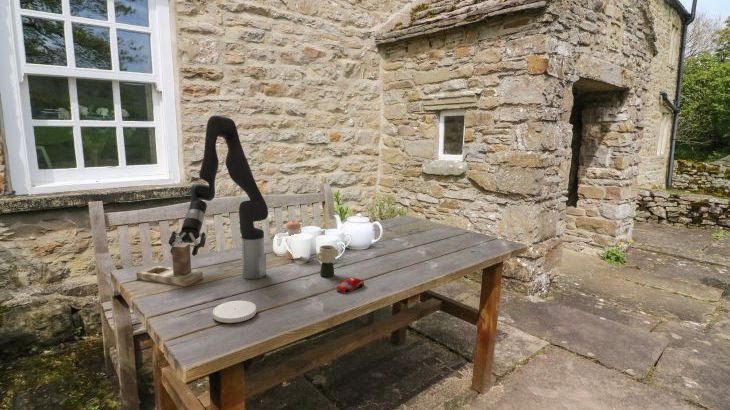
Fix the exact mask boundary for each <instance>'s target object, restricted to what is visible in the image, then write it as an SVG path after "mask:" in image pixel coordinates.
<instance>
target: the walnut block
mask: <svg viewBox="0 0 730 410" xmlns="http://www.w3.org/2000/svg"><path fill="white" fill-rule="evenodd" d="M171 248H172V254H171V256H172V268H173V275H180V276H186V275H187V274H189V273H190V272H191V270H192V263H191V262H192V261H191V243H182V244H179V243H178V244H176V245H174V246H171Z"/></svg>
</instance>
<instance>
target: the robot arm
mask: <svg viewBox="0 0 730 410" xmlns="http://www.w3.org/2000/svg"><path fill="white" fill-rule="evenodd" d="M206 122H207V123H206V130H205V138H204V139H205V140H204V151H203V158H202V162H201V166H200V170H199V174H198V176H199V179H200V180H203V181H205V182H206V183H207V184H205V183H200V182H195V183H193V184H192V185H191V187H190V204H189V207H188V210H187V212H186V214H185V217H184V219H183V222H182V226H181V230H180V232H176V231H174V230H173V231H172V233H171V235H170V237H169V240H168V244H169V246H170V247H171V248H170V254H171V255H172V246H174V245H176V244H178V243H179V244H192V243H194V246H193V249H192V253H191V255H192V256H194V257H196V255H198V252H199V249H200V248H204V247H205V245H206V239H207V234H206V232H204V231H203V232H202V233H201V230H202V227H203V224H204V221H205V215H206V211H207V208H208V204H207V203H206V201H207V202H210V201H211V202H212V201H213V200H214V199H215V195H216V184H215V183H216V177H217V173H218V169H219V157H218V153H217V140H218V138H223V139H224V141H225V143H226V145H227V153H226V158H225V166H226V169H227V172H228V175H229V177H230V179H231V180H232V182H234V184H236V185H237V186H238V187H239V188H241V190H243V191H244V193H245V194H246V195H247V197H248V199H249V200H244V201H242V202H240V203H239V205H238V217H239V220H238V221H239V230H240V234H241V235H240V236H241V266H242V267H241V269H242V271H241V273H242V278H243V279H247V280H255V279H256V280H258V279H259V280H260V279H262V278H263V277H265V276H266V275H267V254H266V253H265V232H264V230H263V229H262V228H258V227H255V225H254V223H255V222H256V223H257V222H260V221H261V222H262V221H265V220H266V219H267V218H268V215H269V209H268V205H267V202H266V200H265V198H264V197H263V194H262V193H261V191H260V189H259V187H258V185H257V183H256V180H255V177H254V175H253V172H252V170H251V166H250V163H249V162H248V160H247V157H246V155H245V152H244V150H243V149H244V148H243V146H242V143H241V139H240V136H239V133H238V128H237V126H236V122H235V121H234V120H233V118H230V117H227V116H223V115H219V114H212V115H211V116H210V117H209V118H208V120H207V121H206ZM199 238H200V240H199V242H198V241H197V240H198V239H199Z"/></svg>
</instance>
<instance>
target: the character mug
mask: <svg viewBox="0 0 730 410" xmlns="http://www.w3.org/2000/svg"><path fill="white" fill-rule="evenodd" d="M318 251H319V252H317V253H316V260H317V261H320V262H321V264H320V271H319V275H320V276H323V277H333V276H335V268H334V263H335V261H336V258H337V257H338V255H339V253H338V252H339V251H338V249H336V246H335V245H330V244H328V245H327V244H325V245H321V246H319V250H318Z"/></svg>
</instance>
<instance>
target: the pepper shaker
mask: <svg viewBox="0 0 730 410" xmlns="http://www.w3.org/2000/svg"><path fill="white" fill-rule="evenodd" d="M285 227H286V229H287V237H288V236H291V235H294V234H299V235H300V228H301V223H300V222H298V221H296V220H294V219H293V220H291V221H288V222H287V223H286V225H285ZM285 258H286V259H287V258H288V259H287V260H291V259H293V257H292V255H291V254H290V252H289V251H288V250H287V249H286V251H285Z"/></svg>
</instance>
